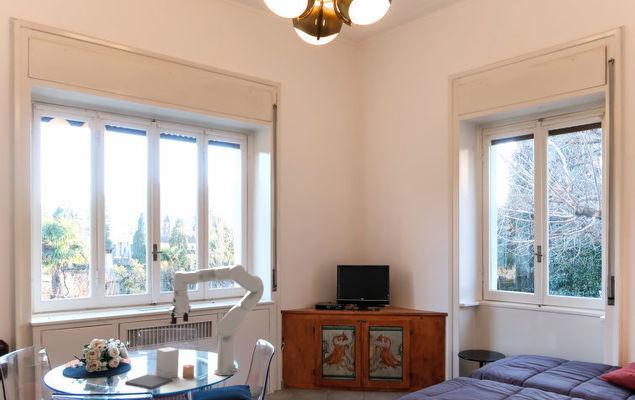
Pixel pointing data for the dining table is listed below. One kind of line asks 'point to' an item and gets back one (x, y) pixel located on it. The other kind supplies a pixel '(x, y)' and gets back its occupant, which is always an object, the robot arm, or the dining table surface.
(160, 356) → the supplement box
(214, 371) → the robot arm
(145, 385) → the board
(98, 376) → the dining table surface
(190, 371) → the tan small cube
